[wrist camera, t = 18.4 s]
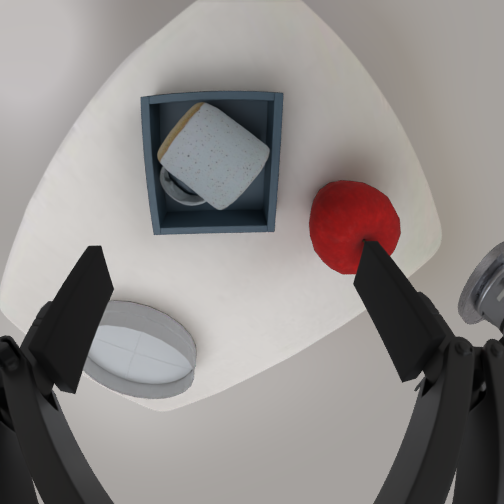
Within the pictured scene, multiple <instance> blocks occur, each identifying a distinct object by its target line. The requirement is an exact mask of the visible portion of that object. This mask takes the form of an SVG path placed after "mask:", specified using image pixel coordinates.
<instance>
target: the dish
mask: <svg viewBox="0 0 504 504" xmlns="http://www.w3.org/2000/svg"><path fill="white" fill-rule="evenodd" d="M195 367H196V346H195V343H194V341H193V339H192V337H191V335H190V334H189V333H188V332H187V331H186V330H185V329H184V328H183V326H182V325H181V324H179V323H178V322H176V321H175V320H174V319H172V318H171V317H169V316H168V315H166V314H164V313H162V312H160V311H158V310H156V309H153V308H151V307H149V306H145V305H141V304H137V303H133V302H125V301H109V302H108V304H107V307H106V309H105V311H104V314H103V316H102V319H101V321H100V324H99V326H98V329H97V332H96V334H95V337H94V339H93V342H92V345H91V348H90V350H89V353H88V356H87V359H86V362H85V365H84V368H83V370H84V372H85V373H86V374H88V375H89V376H90V377H91V378H93V379H94V380H95V381H97V382H98V383H100V384H102V385H104V386H106V387H107V388H109V389H112V390H114V391H117V392H119V393H122V394H126V395H130V396H134V397H139V398H148V399H161V398H168V397H173V396H176V395H178V394H181V393H183V392H185V391H186V390H187V389H188V388H189V387H190V386H191V385H192V382H193V380H194V369H195Z"/></svg>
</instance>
